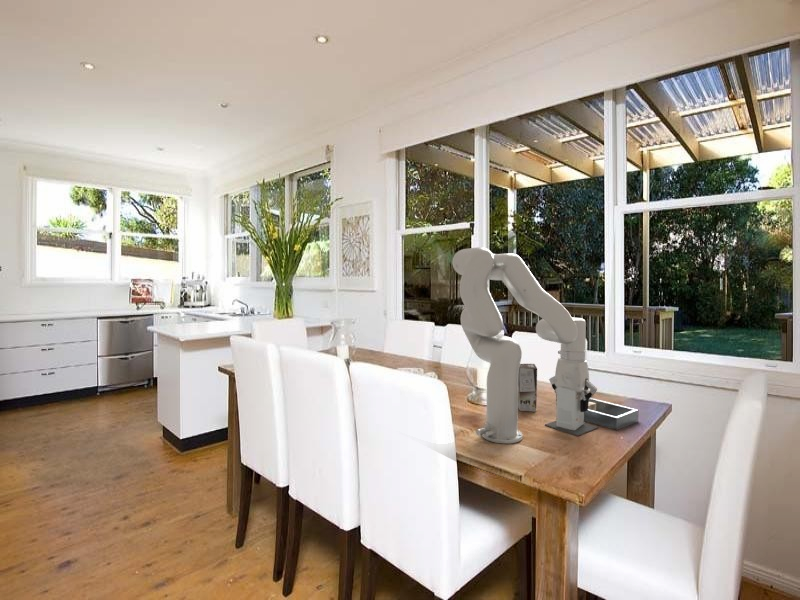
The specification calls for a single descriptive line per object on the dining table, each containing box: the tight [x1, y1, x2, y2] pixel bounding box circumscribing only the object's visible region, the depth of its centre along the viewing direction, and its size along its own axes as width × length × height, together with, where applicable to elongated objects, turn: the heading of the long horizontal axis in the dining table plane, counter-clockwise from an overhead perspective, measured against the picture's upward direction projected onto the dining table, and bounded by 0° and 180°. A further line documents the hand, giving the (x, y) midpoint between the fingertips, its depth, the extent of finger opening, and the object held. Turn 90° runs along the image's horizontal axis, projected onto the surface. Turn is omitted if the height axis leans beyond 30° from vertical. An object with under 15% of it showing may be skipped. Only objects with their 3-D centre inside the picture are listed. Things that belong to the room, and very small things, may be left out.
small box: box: [555, 387, 585, 430], centre depth 146 cm, size 8×6×13 cm
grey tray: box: [584, 397, 640, 431], centre depth 155 cm, size 14×18×4 cm
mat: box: [544, 420, 600, 437], centre depth 146 cm, size 12×12×1 cm
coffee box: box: [518, 363, 538, 413], centre depth 167 cm, size 9×6×16 cm
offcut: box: [588, 402, 596, 411], centre depth 159 cm, size 6×2×4 cm, turn 126°
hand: (571, 407), depth 146 cm, fingers open, 8 cm apart
